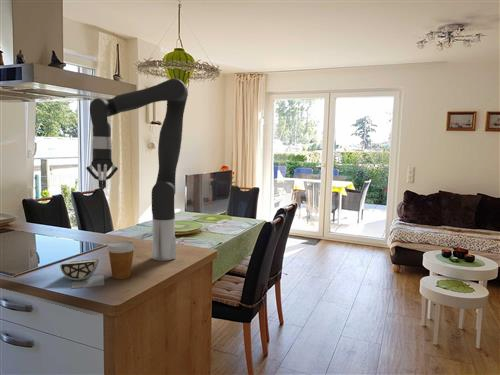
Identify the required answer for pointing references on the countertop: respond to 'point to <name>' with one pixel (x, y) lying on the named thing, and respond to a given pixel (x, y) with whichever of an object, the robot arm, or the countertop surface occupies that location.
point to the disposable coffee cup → (121, 258)
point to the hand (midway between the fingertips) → (102, 189)
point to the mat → (89, 282)
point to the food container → (79, 269)
